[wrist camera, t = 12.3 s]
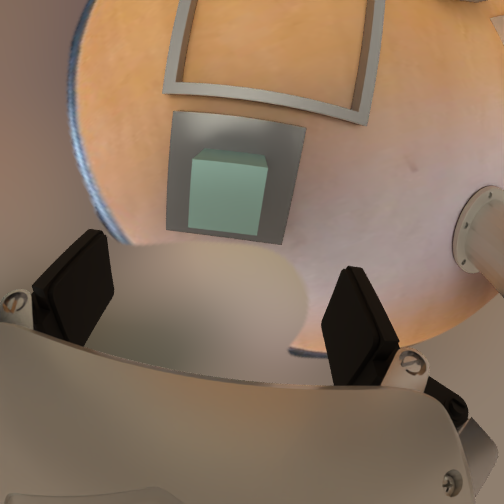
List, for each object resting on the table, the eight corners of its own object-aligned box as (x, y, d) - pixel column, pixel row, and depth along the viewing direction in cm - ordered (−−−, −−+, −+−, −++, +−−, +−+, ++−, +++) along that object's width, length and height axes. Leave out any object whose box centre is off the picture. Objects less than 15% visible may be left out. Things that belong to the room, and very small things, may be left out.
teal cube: (264, 155, 22) (268, 168, 17) (255, 210, 24) (256, 235, 20) (204, 148, 21) (192, 159, 17) (199, 203, 24) (187, 227, 19)
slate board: (303, 126, 22) (306, 128, 21) (280, 237, 27) (281, 244, 26) (177, 110, 21) (173, 111, 20) (170, 223, 26) (166, 229, 25)
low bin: (378, -20, 13) (386, -26, 11) (358, 124, 21) (366, 126, 20) (202, -52, 12) (198, -61, 10) (169, 94, 20) (162, 93, 18)
